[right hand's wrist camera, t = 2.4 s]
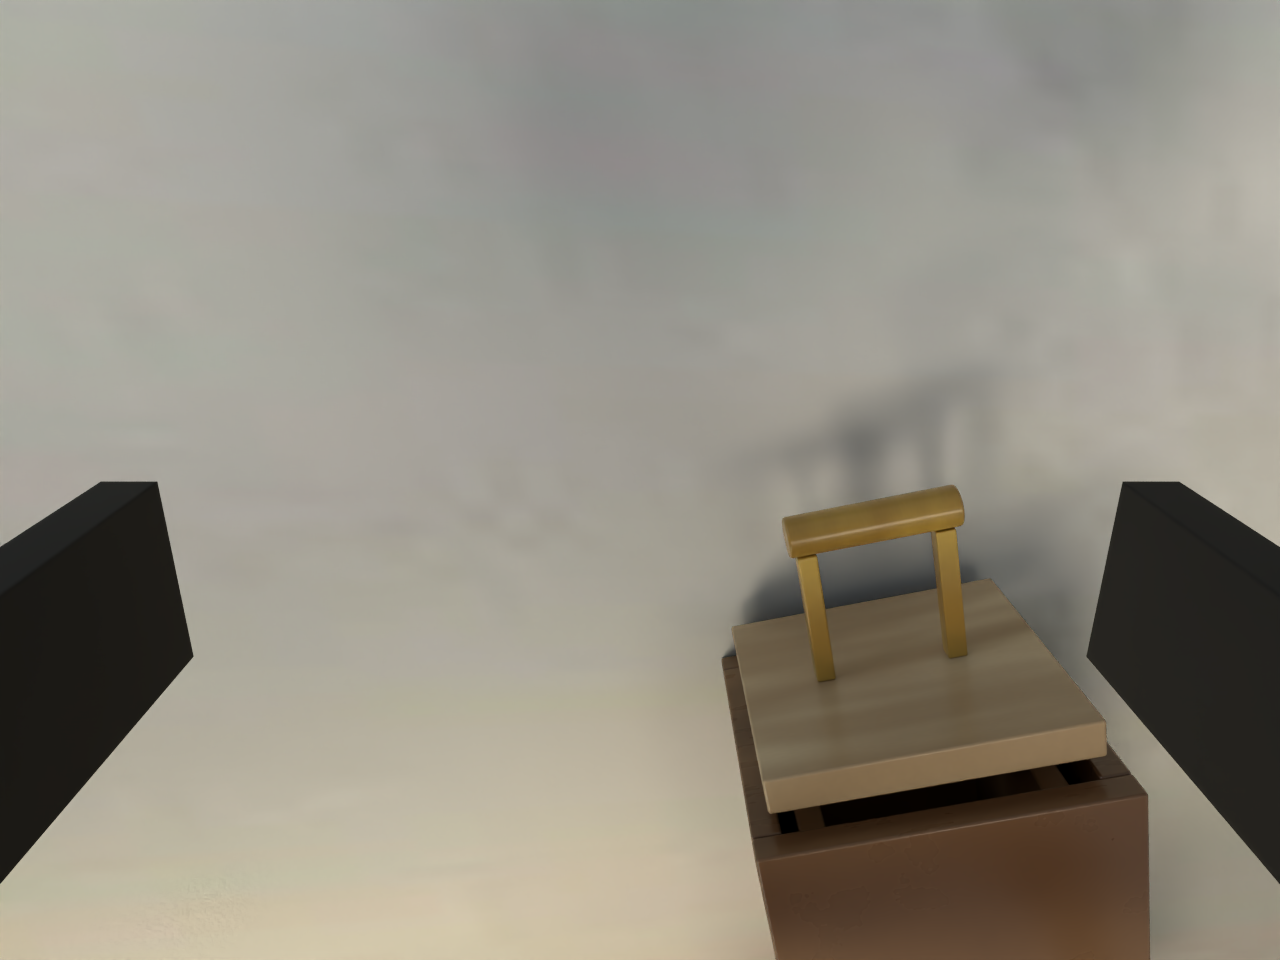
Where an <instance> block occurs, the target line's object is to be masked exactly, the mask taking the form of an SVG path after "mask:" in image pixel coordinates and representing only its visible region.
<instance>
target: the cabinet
mask: <svg viewBox="0 0 1280 960" xmlns="http://www.w3.org/2000/svg"><path fill="white" fill-rule="evenodd" d="M722 666H723V672H724V678H725V684H726V690H727V696H728V702H729V708H730V714H731V720H732V726H733V732H734V738H735V744H736V750H737V756H738V762H739V768H740V774H741V780H742V785H743V791H744V797H745V803H746V809H747V815H748V821H749V827H750V833H751V839H752V845H753V851H754V857H755V862H756V867H757V872H758V876H759V881H760V886H761V891H762V895H763V900H764V905H765V909H766V914H767V919H768V924H769V928H770V933H771V938H772V942H773V947H774V952H775V957H776V960H1150V919H1149V834H1148V794H1147V793H1146V791H1145V790H1144V789H1143V787H1142V786H1141V785H1140V784H1139V782H1138V781H1137V780H1136V778H1135V777H1134V776H1133V775H1131V773H1130V771H1129V770H1128V768H1127V767H1126V766H1125V765H1124V763H1123V762H1122V761H1121V759H1120V758H1119V757H1118V756H1117V754H1116V753H1115V752H1114V750H1113V749H1112V748H1111V747H1110V745H1109V744H1108V743H1107V755H1106V756H1103V757H1097V758H1091V759H1086V760H1080V761H1074V762H1068V763H1062V764H1057V765H1056V766H1057V768H1058V769H1059V771H1060V772H1061V774H1062V775H1063V776H1064V778H1065V779H1066V781H1067V782H1068V784H1069V785H1066V786H1061V787H1055V788H1049V789H1043V790H1037V791H1031V792H1026V793H1020V794H1014V795H1008V796H1002V797H996V798H991V799H985V800H979V801H973V802H967V803H961V804H956V805H950V806H944V807H938V808H932V809H926V810H921V811H915V812H909V813H903V814H897V815H891V816H886V817H880V818H874V819H868V820H862V821H856V822H851V823H845V824H839V825H833V826H827V827H821V828H815V829H810V830H804V831H798V832H792V829H791V824H790V819H789V813H788V811H785V812H779V813H774V814H770V813H769V812H768V810H767V805H766V800H765V795H764V790H763V785H762V780H761V775H760V770H759V765H758V760H757V755H756V750H755V745H754V740H753V735H752V730H751V725H750V720H749V715H748V710H747V705H746V700H745V695H744V690H743V684H742V679H741V674H740V669H739V664H738V659H737V655H736V656H730V657H725V658H722Z"/></svg>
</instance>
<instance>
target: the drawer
mask: <svg viewBox="0 0 1280 960" xmlns="http://www.w3.org/2000/svg"><path fill="white" fill-rule="evenodd" d="M964 518H965V513H964V506H963V501H962V498H961V495H960V493H959V491H958V489H957V488H956V486H954V485H947V486H942V487H937V488H931V489H926V490H921V491H916V492H911V493H906V494H901V495H896V496H890V497H885V498H880V499H875V500H870V501H865V502H860V503H855V504H850V505H844V506H839V507H834V508H829V509H824V510H819V511H814V512H809V513H803V514H798V515H793V516H788V517H784V518H783V519H782V527H783V533H784V538H785V543H786V547H787V551H788V554H789V556H790V558H795V559H796V565H797V571H798V577H799V583H800V589H801V595H802V601H803V607H804V613H802V614H797V615H792V616H786V617H781V618H776V619H771V620H765V621H760V622H755V623H749V624H744V625H739V626H733V627H732V634H733V639H734V644H735V649H736V654H737V659H738V664H739V669H740V674H741V679H742V684H743V690H744V695H745V700H746V705H747V710H748V715H749V720H750V725H751V730H752V735H753V740H754V745H755V750H756V755H757V760H758V765H759V770H760V775H761V780H762V785H763V790H764V795H765V800H766V805H767V810H768V812H769V813H770V814H774V813H779V812H785V811H788V813H789V819H790V824H791V829H792V832H798V831H804V830H810V829H815V828H821V827H827V826H833V825H839V824H845V823H851V822H856V821H862V820H868V819H874V818H880V817H886V816H891V815H897V814H903V813H909V812H915V811H921V810H926V809H932V808H938V807H944V806H950V805H956V804H961V803H967V802H973V801H979V800H985V799H991V798H996V797H1002V796H1008V795H1014V794H1020V793H1026V792H1031V791H1037V790H1043V789H1049V788H1055V787H1061V786H1066V785H1069V784H1068V782H1067V781H1066V779H1065V778H1064V776H1063V775H1062V774H1061V772H1060V771H1059V769H1058V768H1057V766H1056V765H1057V764H1062V763H1068V762H1074V761H1080V760H1086V759H1091V758H1097V757H1103V756H1106V755H1107V740H1106V721H1105V719H1104V718H1103V717H1102V716H1101V714H1100V713H1099V712H1098V711H1097V710H1096V708H1095V707H1094V706H1093V705H1092V703H1091V702H1090V701H1089V700H1088V698H1087V697H1086V696H1085V695H1084V693H1083V692H1082V691H1081V690H1080V688H1079V687H1078V686H1077V685H1076V683H1075V682H1074V681H1073V680H1072V679H1071V677H1070V676H1069V675H1068V674H1067V672H1066V671H1065V670H1064V669H1063V667H1062V666H1061V665H1060V664H1059V662H1058V661H1057V660H1056V659H1055V657H1054V656H1053V655H1052V654H1051V652H1050V651H1049V650H1048V649H1047V648H1046V646H1045V645H1044V644H1043V643H1042V641H1041V640H1040V639H1039V638H1038V636H1037V635H1036V634H1035V633H1034V631H1033V630H1032V629H1031V628H1030V626H1029V625H1028V624H1027V623H1026V621H1025V620H1024V619H1023V618H1022V617H1021V615H1020V614H1019V613H1018V612H1017V610H1016V609H1015V608H1014V607H1013V605H1012V604H1011V603H1010V602H1009V600H1008V599H1007V598H1006V597H1005V595H1004V594H1003V593H1002V592H1001V590H1000V589H999V588H998V587H997V586H996V584H995V583H994V582H993V581H992V579H983V580H978V581H973V582H968V583H962V584H961V577H960V566H959V555H958V545H957V534H956V529H955V528H954V527H959V526H961V525H963V524H964ZM927 532H931V537H932V547H933V556H934V566H935V575H936V585H937V588H936V589H930V590H925V591H920V592H914V593H909V594H904V595H898V596H893V597H888V598H882V599H877V600H872V601H866V602H861V603H856V604H850V605H845V606H840V607H834V608H829V609H825V603H824V597H823V590H822V584H821V578H820V571H819V565H818V558H817V555H816V554H818V553H823V552H828V551H834V550H839V549H844V548H849V547H855V546H860V545H865V544H870V543H875V542H881V541H886V540H891V539H896V538H901V537H907V536H912V535H917V534H922V533H927Z"/></svg>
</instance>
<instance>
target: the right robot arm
mask: <svg viewBox="0 0 1280 960" xmlns="http://www.w3.org/2000/svg"><path fill="white" fill-rule="evenodd" d="M192 658H193V652H192V647H191V642H190V637H189V633H188V628H187V623H186V618H185V613H184V608H183V604H182V599H181V594H180V589H179V584H178V579H177V575H176V570H175V565H174V560H173V555H172V550H171V546H170V541H169V536H168V531H167V526H166V522H165V517H164V512H163V507H162V502H161V497H160V493H159V488H158V483H157V482H100V483H98V484H97V485H95V486H94V487H92V488H90V489H89V490H87V491H86V492H84V493H83V494H81V495H80V496H78V497H77V498H75V499H74V500H72V501H70V502H69V503H67V504H66V505H64V506H63V507H61V508H60V509H58V510H57V511H55V512H54V513H52V514H50V515H49V516H47V517H46V518H44V519H43V520H41V521H40V522H38V523H37V524H35V525H34V526H32V527H30V528H29V529H27V530H26V531H24V532H23V533H21V534H20V535H18V536H17V537H15V538H14V539H12V540H10V541H9V542H7V543H6V544H4V545H3V546H1V547H0V884H1V882H2V881H3V880H4V879H5V878H6V876H7V875H8V874H9V873H10V872H11V871H12V869H13V868H14V867H15V866H16V865H17V864H18V862H19V861H20V860H21V859H22V858H23V856H24V855H25V854H26V853H27V852H28V851H29V849H30V848H31V847H32V846H33V845H34V844H35V842H36V841H37V840H38V839H39V838H40V836H41V835H42V834H43V833H44V832H45V831H46V829H47V828H48V827H49V826H50V825H51V824H52V822H53V821H54V820H55V819H56V818H57V816H58V815H59V814H60V813H61V812H62V811H63V809H64V808H65V807H66V806H67V805H68V804H69V802H70V801H71V800H72V799H73V798H74V796H75V795H76V794H77V793H78V792H79V791H80V789H81V788H82V787H83V786H84V785H85V784H86V782H87V781H88V780H89V779H90V778H91V776H92V775H93V774H94V773H95V772H96V771H97V769H98V768H99V767H100V766H101V765H102V764H103V762H104V761H105V760H106V759H107V758H108V756H109V755H110V754H111V753H112V752H113V751H114V749H115V748H116V747H117V746H118V745H119V744H120V742H121V741H122V740H123V739H124V738H125V736H126V735H127V734H128V733H129V732H130V731H131V729H132V728H133V727H134V726H135V725H136V724H137V722H138V721H139V720H140V719H141V718H142V716H143V715H144V714H145V713H146V712H147V711H148V709H149V708H150V707H151V706H152V705H153V704H154V702H155V701H156V700H157V699H158V698H159V697H160V695H161V694H162V693H163V692H164V691H165V689H166V688H167V687H168V686H169V685H170V684H171V682H172V681H173V680H174V679H175V678H176V677H177V675H178V674H179V673H180V672H181V671H182V669H183V668H184V667H185V666H186V665H187V664H188V662H189V661H190V660H191V659H192ZM1087 658H1088V659H1089V660H1090V661H1091V662H1092V664H1093V665H1094V666H1095V667H1096V668H1097V669H1098V671H1099V672H1100V673H1101V674H1102V675H1103V677H1104V678H1105V679H1106V680H1107V681H1108V682H1109V684H1110V685H1111V686H1112V687H1113V688H1114V689H1115V691H1116V692H1117V693H1118V694H1119V695H1120V696H1121V698H1122V699H1123V700H1124V701H1125V702H1126V704H1127V705H1128V706H1129V707H1130V708H1131V709H1132V711H1133V712H1134V713H1135V714H1136V715H1137V716H1138V718H1139V719H1140V720H1141V721H1142V722H1143V724H1144V725H1145V726H1146V727H1147V728H1148V729H1149V731H1150V732H1151V733H1152V734H1153V735H1154V736H1155V738H1156V739H1157V740H1158V741H1159V742H1160V744H1161V745H1162V746H1163V747H1164V748H1165V749H1166V751H1167V752H1168V753H1169V754H1170V755H1171V756H1172V758H1173V759H1174V760H1175V761H1176V762H1177V764H1178V765H1179V766H1180V767H1181V768H1182V769H1183V771H1184V772H1185V773H1186V774H1187V775H1188V776H1189V778H1190V779H1191V780H1192V781H1193V782H1194V784H1195V785H1196V786H1197V787H1198V788H1199V789H1200V791H1201V792H1202V793H1203V794H1204V795H1205V796H1206V798H1207V799H1208V800H1209V801H1210V802H1211V804H1212V805H1213V806H1214V807H1215V808H1216V809H1217V811H1218V812H1219V813H1220V814H1221V815H1222V816H1223V818H1224V819H1225V820H1226V821H1227V822H1228V824H1229V825H1230V826H1231V827H1232V828H1233V829H1234V831H1235V832H1236V833H1237V834H1238V835H1239V836H1240V838H1241V839H1242V840H1243V841H1244V842H1245V844H1246V845H1247V846H1248V847H1249V848H1250V849H1251V851H1252V852H1253V853H1254V854H1255V855H1256V856H1257V858H1258V859H1259V860H1260V861H1261V862H1262V864H1263V865H1264V866H1265V867H1266V868H1267V869H1268V871H1269V872H1270V873H1271V874H1272V875H1273V876H1274V878H1275V879H1276V880H1277V881H1278V882H1279V884H1280V547H1279V546H1277V545H1276V544H1274V543H1273V542H1271V541H1270V540H1268V539H1266V538H1265V537H1263V536H1262V535H1260V534H1259V533H1257V532H1256V531H1254V530H1253V529H1251V528H1250V527H1248V526H1246V525H1245V524H1243V523H1242V522H1240V521H1239V520H1237V519H1236V518H1234V517H1233V516H1231V515H1230V514H1228V513H1226V512H1225V511H1223V510H1222V509H1220V508H1219V507H1217V506H1216V505H1214V504H1213V503H1211V502H1210V501H1208V500H1206V499H1205V498H1203V497H1202V496H1200V495H1199V494H1197V493H1196V492H1194V491H1193V490H1191V489H1190V488H1188V487H1186V486H1185V485H1183V484H1182V483H1180V482H1123V483H1122V488H1121V493H1120V497H1119V502H1118V507H1117V512H1116V517H1115V522H1114V526H1113V531H1112V536H1111V541H1110V546H1109V550H1108V555H1107V560H1106V565H1105V570H1104V575H1103V579H1102V584H1101V589H1100V594H1099V599H1098V604H1097V608H1096V613H1095V618H1094V623H1093V628H1092V633H1091V637H1090V642H1089V647H1088V652H1087Z"/></svg>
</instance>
